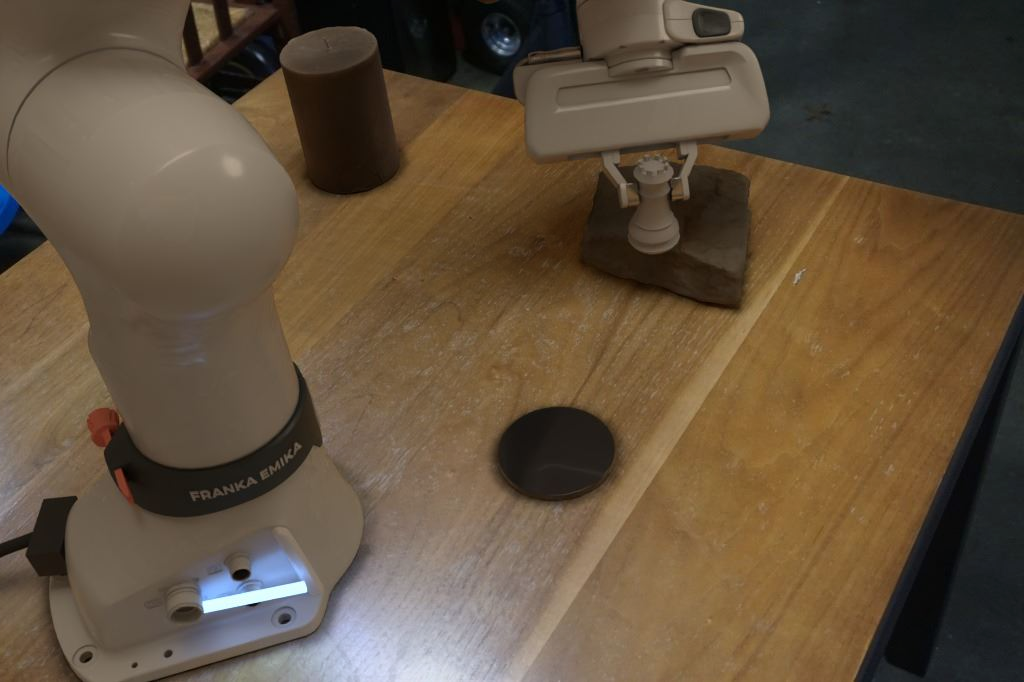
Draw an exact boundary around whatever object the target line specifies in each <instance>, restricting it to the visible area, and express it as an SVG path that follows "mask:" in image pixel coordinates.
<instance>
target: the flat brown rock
mask: <svg viewBox="0 0 1024 682" xmlns="http://www.w3.org/2000/svg"><path fill="white" fill-rule="evenodd" d="M668 163H669V165H670V166H671V167H672V168H673V172H674V174H673V176H672V178H676V177H678V175H679V172H680V170H681V168H682V165H683V163H679V162H675V161H671V160H670V161H669V160H668ZM637 166H638V163H636V164H634V165H623V166H618V167H617V170H618V171H619V172H620V174H621V175H622V176H623V178H624V179H625V180H626V182H627V184H629V183H637V185H638V183H639V181H638V180H637V179H636V178H635V177H634V173H633V171H634V170H635V168H636V167H637ZM688 185H689V193H690V196H689V199H688V200H685V201H677V202H670V200H669V194H670V192H668V200H669V206H670V210H671V211H672V212H673V214H674V217H675V218H676V219H677V221H678V225H679V234H680V238H679V240H678V243H677V244H676V245H675V246H674V247H673V248H671V249H670V250H669V251H667V252H664V253H661V254H646V253H642V252H640V251H638V250H636V249H635V248H634V247H633V246H632V245H631V244H630V242H629V241H628V233H629V229H628V226H629V223H630V221H631V219H632V217H633V216H634V214H635V212H636V211H637V207H638V206H637V207H630V208H622V209H621V207H620V202H619V195H618V188H615V186H614V185H613V184H612V182H611V181H610V180H609V179H608V177H607V176H606V175H605V174H604V172H603V171H602V170H601V171H600V172H599V173H598V179H597V184H596V190H595V192H594V194H593V196H592V205H591V208H590V210H589V215H588V219H587V224H586V229H585V234H584V235H583V237H582V240H581V258H582V260H583V262H584V263H585V264H586V265H587V266H589V267H592V268H595V269H597V270H599V271H601V272H605V273H607V274H611V275H613V276H615V277H619V278H621V279H631V280H635V281H637V282H639V283H642V284H646V285H655V286H657V287H660V288H664V289H666V290H669V291H671V292H674V293H676V294H679V295H682V296H685V297H688V298H692V299H695V300H697V301H699V302H706V303H707V302H708V303H715V304H720V305H726V306H727V305H728V306H734V305H738V304H739V303H741V302H742V301H743V297H742V296H743V293H742V291H743V283H744V276H745V271H746V270H745V269H746V262H747V261H746V260H747V255H748V253H747V252H748V249H749V248H748V247H749V245H748V242H749V236H750V231H751V228H750V225H751V218H752V214H753V213H752V211H751V210H750V209H749V208H748V207H749V202H750V201H749V200H750V191H751V189H750V187H751V180H750V179H749V178H748V177H747V176H746V175H745V174H744V173H741V172H738V171H734V170H732V169H726V168H719V167H716V166H711V165H706V164H698V165H697V164H693V167H692V169H691V172H690V174H689V176H688ZM637 194H638V195H639V193H638V192H637Z"/></svg>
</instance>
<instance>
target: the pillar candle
mask: <svg viewBox="0 0 1024 682" xmlns="http://www.w3.org/2000/svg"><path fill="white" fill-rule="evenodd" d="M279 62H280V66H281V70H282V74H283V78H284V83H285V86H286V90H287V93H288V98H289V101H290V105H291V110H292V113H293V118H294V121H295V125H296V129H297V134H298V137H299V141H300V146H301V149H302V153H303V158H304V162H305V167H306V172H307V174H308V176H309V178H310V179H311V181H312V183H314V185H315V186H317V187H318V188H319V189H321V190H323V191H326V192H330V193H334V194H351V193H356V192H357V193H358V192H364V191H369V190H371V189H374V188H376V187H378V186H380V185H382V184H384V183H386V182H387V181H388V180H390V179H391V178H392V177H393V176H394V175H395V174H396V173H397V171H398V170H399V167H400V165H401V156H400V152H399V151H400V150H399V145H398V140H397V135H396V131H395V126H394V121H393V116H392V111H391V104H390V101H389V95H388V90H387V84H386V80H385V75H384V69H383V64H382V59H381V53H380V49H379V44H378V40H377V38H376V37H375V35H374V34H373V33H372V32H371V31H368V29H366V28H361V27H358V26H333V27H332V26H329V27H327V26H326V27H323V28H320V29H317V30H316V29H315V30H312V31H308V32H306V33H303V34H302V35H300V36H299V35H298V36H297V37H293V38H291V39H290V40H289V41H288V42H287V44H286V45H285V46H284V47H283V48H282V50H281V52H280V53H279Z"/></svg>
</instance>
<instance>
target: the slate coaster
mask: <svg viewBox="0 0 1024 682" xmlns="http://www.w3.org/2000/svg"><path fill="white" fill-rule="evenodd" d="M505 429H506V430H505V431H504V432H503V433H502V436H501V437H500V439H499V442H498V445H497V462H498V467H499V470H500V473H501V475H502V476H503V478H504V479H505V480H506V481H507V483H508V484H509V485H510V486H511V487H512V488H513V489H515V490H516V491H518V492H520V493H521V494H523V495H525V496H528V497H531V498H534V499H539V500H544V501H564V500H570V499H574V498H578V497H580V496H583V495H586V494H588V493H589V492H591V491H593V490H594V489H596V488H598V487H599V486H600V485H601V484H602V483H603V482H604V481H605V480H606V479H607V478H608V476H609V475H610V473H611V472H612V470H613V468H614V466H615V462H616V457H617V456H616V455H617V454H616V453H617V451H616V441H615V439H614V435H613V433H612V431H611V430H610V429H609V427H608V425H607V424H605V422H604V421H602V420H601V419H600V418H599V417H598V416H596V415H594V414H592V413H591V412H588V411H586V410H584V409H580V408H577V407H571V406H547V407H542V408H539V409H535V410H533V411H529V412H527V413H525V414H523V415H521V416H520V417H518V418H516V419H515V420H514V421H513V422H511V424H509V426H508V427H507V428H505Z"/></svg>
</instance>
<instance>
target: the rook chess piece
mask: <svg viewBox="0 0 1024 682" xmlns="http://www.w3.org/2000/svg"><path fill="white" fill-rule="evenodd" d="M661 157H662V156H661V154H660V153H654V158H651V155H650V154H645V155H643V156H642V158H639V159H638V160H637V164H638V166H637V167H636V168H635V170H634V171H633V173H634V177H635V178H636V179H637V180H638V181H639V183H638V193H639V201H640V204H639V205H638V207H637V211H636V212H635V214H634V216H633V217H632V219H631V221H630V223H629V226H628V229H629V233H628V241H629V242H630V244H631V245H632V246H633V247H634V248H635V249H636V250H638V251H640V252H642V253H646V254H661V253H664V252H667V251H669V250H670V249H671V248H673V247H674V246H675V245H676V244H677V243H678V240H679V238H680V234H679V225H678V221H677V219H676V218H675V217H674V214H673V212H672V211H671V210H670V206H669V200H668V192H669V191H670V189H671V187H670V184H669V183H668V181H669V180H670V179H671V178H672V176H673V174H674V172H673V168H672V167H671V166H670V165H669V163H668V162H669V159H668V157H667V156H663V157H662V158H661Z"/></svg>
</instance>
